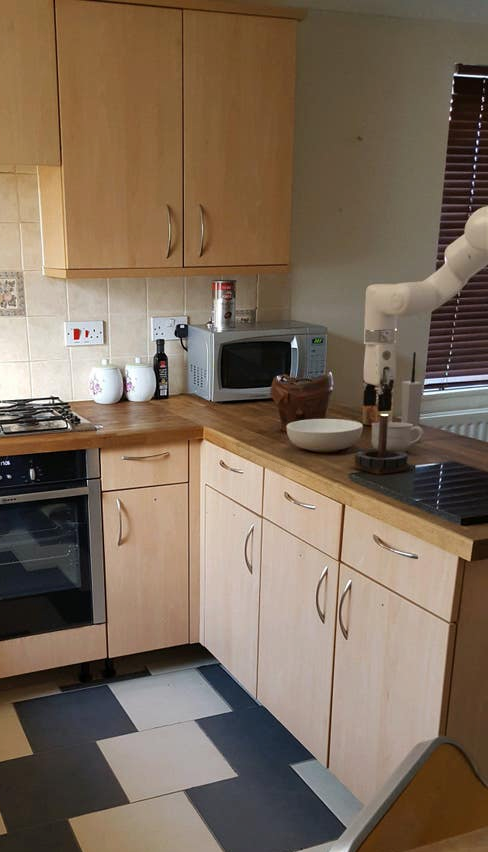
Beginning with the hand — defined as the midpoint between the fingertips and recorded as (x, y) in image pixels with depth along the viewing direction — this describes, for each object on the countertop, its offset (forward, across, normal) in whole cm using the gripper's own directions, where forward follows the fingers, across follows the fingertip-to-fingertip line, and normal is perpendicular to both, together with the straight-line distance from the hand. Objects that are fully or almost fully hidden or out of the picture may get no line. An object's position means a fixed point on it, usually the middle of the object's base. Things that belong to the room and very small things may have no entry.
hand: (376, 408), depth 218 cm
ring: (+13, -5, 0) cm, 14 cm away
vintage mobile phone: (+15, +29, -21) cm, 39 cm away
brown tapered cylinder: (+14, +56, +2) cm, 57 cm away
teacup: (+15, +12, -11) cm, 22 cm away
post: (+14, -5, 0) cm, 15 cm away
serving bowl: (+14, +24, +6) cm, 28 cm away
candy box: (+14, +58, -23) cm, 64 cm away
